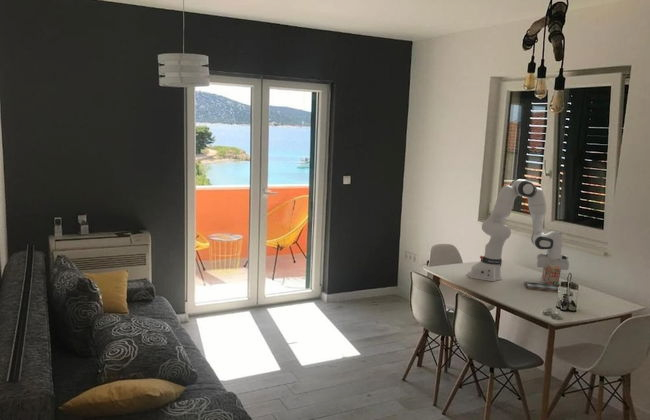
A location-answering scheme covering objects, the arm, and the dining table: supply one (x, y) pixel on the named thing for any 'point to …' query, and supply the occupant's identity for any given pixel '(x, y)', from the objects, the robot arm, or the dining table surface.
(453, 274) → the dining table surface
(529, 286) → the grey flat slab
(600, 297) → the dining table surface
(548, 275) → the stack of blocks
